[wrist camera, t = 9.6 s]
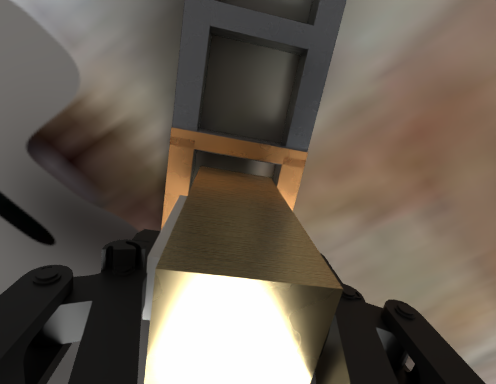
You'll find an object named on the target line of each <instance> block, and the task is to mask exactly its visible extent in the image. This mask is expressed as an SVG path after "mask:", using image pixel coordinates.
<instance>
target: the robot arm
mask: <svg viewBox="0 0 496 384" xmlns="http://www.w3.org/2000/svg"><path fill="white" fill-rule="evenodd" d="M186 198H187V196H183V195H180V196H179V198H178V200H177V202H176V204H175V205H174V207H173V209H172V211H171V213H170V215H169V217H168V219H167V221H166V222H165V224H164V226H163V228H162V230H161V231H155V230H148V229H144V230H142V231H140V232H139V233H137V234H136V235H135V237H134V238H133V239H132V240H117V241H113V242H110V243H108V244H107V245H105V246H104V247H103V249H102V264H101V273H99V274H95V275H89V276H80V277H73V272H72V270H71V269H70V268H69V267H67V266H62V265H48V266H43V267H39V268H36V269H34V270H31V271H30V272H28V273H26V274H25V275H24V276H22V277H21V278H20V279H19V280H17V281H16V282H15V283H14V284H13V285H11V286H10V287H9V288H8V289H7V290H6V291H4V292H3V293H2V294H1V295H0V384H47V382H48V380H49V379H50V377H51V376H52V374H53V373H54V371H55V369H56V368H57V366H58V365H59V363H60V362H61V360H62V358H63V357H64V355H65V354H66V352H67V350H68V349H69V347H70V346H71V344H72V342H76V341H81V342H80V345H79V348H78V352H77V355H76V358H75V362H74V365H73V369H72V372H71V376H70V379H69V382H68V384H137V378H138V361H139V341H140V326H141V314H142V311H143V319H144V320H150V319H151V309H152V299H153V288H154V278H155V268H156V266H157V264H158V262H159V259H160V257H161V255H162V253H163V250H164V248H165V246H166V243H167V241H168V239H169V237H170V234H171V232H172V230H173V227H174V225H175V223H176V221H177V218H178V216H179V214H180V212H181V209H182V207H183V205H184V202H185V200H186ZM319 253H320V252H319ZM320 254H321V253H320ZM321 256H322V257H323V259H324V260H325V262H326V263H327V265H328V267H329V268H330V270H331V271H332V273H333V274H334V276H335V277H336V279H337V280H338V282H339V283H340V285H341V286H342V288H343V292H342V294H341V297H340V300H339V303H338V306H337V309H336V311H335V314H334V317H333V320H332V323H331V325H330V328H329V331H328V334H327V337H326V339H325V342H324V345H323V348H322V351H321V354H320V356H319V359H318V362H317V365H316V368H315V377H316V384H485V383H484V381H483V380H482V379H481V378H480V377H479V376H478V375H477V374H476V373H475V372H474V371H473V370H472V369H471V368H470V366H469V365H468V364H467V363H466V362H465V361H464V360H463V359H462V358H461V357H460V356H459V355H458V354H457V353H456V351H455V350H454V349H453V348H452V347H451V346H450V345H449V344H448V343H447V342H446V341H445V340H444V339H443V338H442V336H441V335H440V334H439V333H438V332H437V331H436V330H435V329H434V328H433V327H432V326H431V325H430V324H429V323H428V321H427V320H426V319H425V318H424V317H423V316H422V315H421V314H420V313H419V312H418V311H417V310H415V309H414V308H413V307H411V306H410V305H408V304H407V303H404V302H402V301H398V300H388V301H386V302H385V305H384V307H383V308H381V307H378V306H374V305H371V304H368V303H366V302H365V300H364V298H363V296H362V295H361V294H360V293H359V292H358V291H357V290H356V289H354V288H352V287H351V286H348V285H346V284H343V283H342V282H341V280H340V279H339V277H338V276H337V274H336V273H335V271H334V270H333V269H332V267H331V265H330V264H329V262H328V261H327V259H326V258H325V256H323V255H322V254H321ZM408 356H410V358H411V359H412V360H413V362H414V363H415V365H414V367H413V369H412V370H411V371H410V370H409V369H408V368H407V366H406V365H405V362H406V360H407V358H408Z"/></svg>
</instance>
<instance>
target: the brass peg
mask: <svg viewBox="0 0 496 384" xmlns="http://www.w3.org/2000/svg"><path fill="white" fill-rule="evenodd" d="M342 292H343V288H342V286H341V285H340V283H339V282H338V280H337V279H336V277H335V276H334V274H333V273H332V271H331V270H330V268H329V267H328V265H327V263H326V262H325V260H324V259H323V257H322V256H321V254H320V253H319V251H318V250H317V248H316V247H315V245H314V243H313V242H312V240H311V239H310V237H309V236H308V234H307V233H306V231H305V230H304V228H303V227H302V225H301V224H300V222H299V220H298V219H297V217H296V216H295V214H294V213H293V211H292V210H291V208H290V207H289V205H288V204H287V202H286V201H285V199H284V197H283V196H282V194H281V193H280V191H279V190H278V188H277V187H276V185H275V184H274V182H273V181H272V179H271V178H270V177H264V176H258V175H252V174H246V173H240V172H234V171H228V170H222V169H216V168H210V167H204V166H200V168H199V171H198V173H197V175H196V177H195V180H194V182H193V184H192V187H191V189H190V191H189V193H188V196H187V198H186V200H185V202H184V205H183V207H182V209H181V212H180V214H179V216H178V218H177V221H176V223H175V225H174V227H173V230H172V232H171V234H170V237H169V239H168V241H167V243H166V246H165V248H164V250H163V253H162V255H161V257H160V259H159V262H158V264H157V266H156V268H155V278H154V288H153V299H152V309H151V319H150V330H149V340H148V350H147V361H146V371H145V381H144V384H310V382H311V379H312V376H313V373H314V370H315V368H316V365H317V362H318V359H319V356H320V354H321V351H322V348H323V345H324V342H325V339H326V337H327V334H328V331H329V328H330V325H331V323H332V320H333V317H334V314H335V311H336V309H337V306H338V303H339V300H340V297H341V294H342Z"/></svg>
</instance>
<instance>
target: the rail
mask: <svg viewBox="0 0 496 384" xmlns="http://www.w3.org/2000/svg"><path fill="white" fill-rule="evenodd" d="M345 4H346V0H313V1H312V6H311V10H310V15H309V19H308V24H305V23H301V22H297V21H294V20H290V19H286V18H282V17H278V16H274V15H270V14H266V13H262V12H258V11H254V10H250V9H246V8H242V7H238V6H234V5H230V4H227V3H223V2H219V1H216V0H185V3H184V13H183V23H182V33H181V43H180V53H179V63H178V73H177V83H176V93H175V103H174V113H173V123H172V127H171V138H170V148H169V158H168V168H167V178H166V188H165V198H164V208H163V218H162V228H163V226H164V224H165V222H166V221H167V219H168V217H169V215H170V213H171V211H172V209H173V207H174V205H175V204H176V202H177V200H178V198H179V196H180V195H183V196H188V193H189V191H190V189H191V187H192V182H193V174H194V166H195V159H196V151H197V150H198V151H204V152H209V153H215V154H221V155H227V156H232V157H238V158H244V159H249V160H255V161H261V162H267V163H272V164H276V165H275V170H274V174H273V179H272V181H273V182H274V184H275V185H276V187H277V188H278V190H279V191H280V193H281V194H282V196H283V197H284V199H285V201H286V202H287V204H288V205H289V207H290V208H291V210H292V211H293V208H294V204H295V201H296V197H297V193H298V189H299V185H300V181H301V178H302V174H303V170H304V166H305V162H306V158H307V154H308V152H307V151H308V147H309V143H310V139H311V135H312V132H313V128H314V124H315V120H316V116H317V112H318V108H319V104H320V101H321V97H322V93H323V89H324V85H325V81H326V77H327V73H328V70H329V66H330V62H331V58H332V54H333V50H334V46H335V43H336V39H337V35H338V31H339V27H340V23H341V19H342V15H343V12H344V8H345ZM212 34H213V35H217V36H221V37H225V38H230V39H234V40H238V41H242V42H247V43H251V44H255V45H259V46H264V47H268V48H272V49H276V50H281V51H285V52H289V53H293V54H298V55H300V59H299V63H298V68H297V72H296V77H295V81H294V86H293V90H292V95H291V99H290V103H289V108H288V112H287V117H286V121H285V126H284V130H283V134H282V139H281V143H276V142H270V141H265V140H259V139H254V138H249V137H243V136H238V135H233V134H227V133H222V132H217V131H211V130H206V129H200V120H201V113H202V105H203V97H204V90H205V82H206V74H207V67H208V59H209V51H210V44H211V36H212ZM162 228H161V230H162Z"/></svg>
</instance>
